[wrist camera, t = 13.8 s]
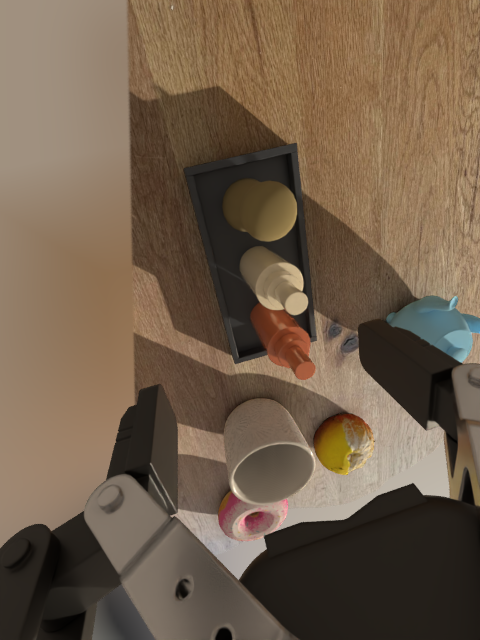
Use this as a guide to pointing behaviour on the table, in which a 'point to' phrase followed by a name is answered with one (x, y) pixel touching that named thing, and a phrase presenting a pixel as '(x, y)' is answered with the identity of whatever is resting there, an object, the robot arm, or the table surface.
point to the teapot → (438, 324)
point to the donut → (249, 518)
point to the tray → (247, 240)
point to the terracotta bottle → (283, 340)
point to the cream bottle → (273, 280)
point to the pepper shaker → (260, 208)
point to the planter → (265, 453)
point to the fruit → (343, 443)
